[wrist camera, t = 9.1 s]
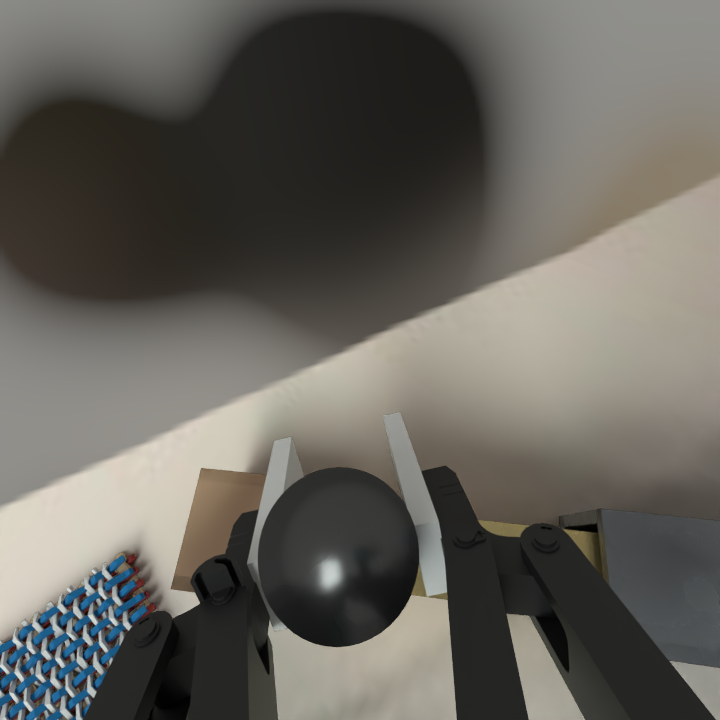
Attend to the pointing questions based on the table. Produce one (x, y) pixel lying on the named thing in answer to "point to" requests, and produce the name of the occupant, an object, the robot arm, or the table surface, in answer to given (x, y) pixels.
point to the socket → (215, 518)
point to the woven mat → (70, 645)
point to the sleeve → (663, 576)
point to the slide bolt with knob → (350, 556)
